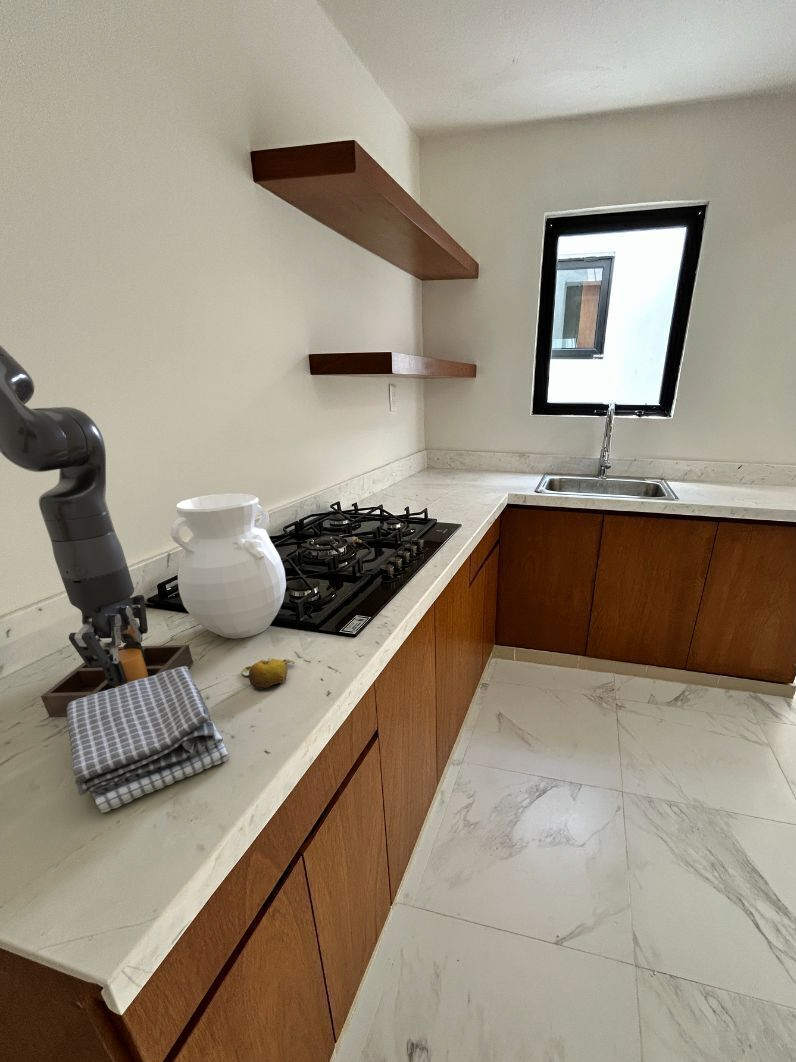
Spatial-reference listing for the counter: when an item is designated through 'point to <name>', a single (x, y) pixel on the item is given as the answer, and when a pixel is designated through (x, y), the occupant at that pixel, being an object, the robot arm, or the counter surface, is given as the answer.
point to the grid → (95, 681)
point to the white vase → (228, 565)
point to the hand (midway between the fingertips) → (128, 674)
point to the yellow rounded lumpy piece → (267, 673)
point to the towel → (141, 737)
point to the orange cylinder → (133, 664)
